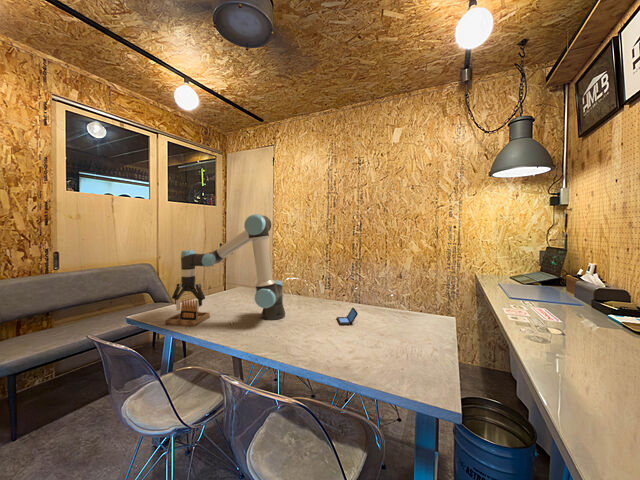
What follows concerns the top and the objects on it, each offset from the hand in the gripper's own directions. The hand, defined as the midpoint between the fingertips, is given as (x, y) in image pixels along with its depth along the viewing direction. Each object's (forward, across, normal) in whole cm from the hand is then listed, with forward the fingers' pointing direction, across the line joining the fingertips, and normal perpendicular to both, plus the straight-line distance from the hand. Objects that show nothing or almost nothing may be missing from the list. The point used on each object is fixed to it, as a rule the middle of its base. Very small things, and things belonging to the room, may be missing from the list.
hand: (188, 310), depth 156 cm
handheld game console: (+7, -95, -13) cm, 96 cm away
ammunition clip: (+5, 0, 0) cm, 5 cm away
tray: (+6, 0, 0) cm, 6 cm away
